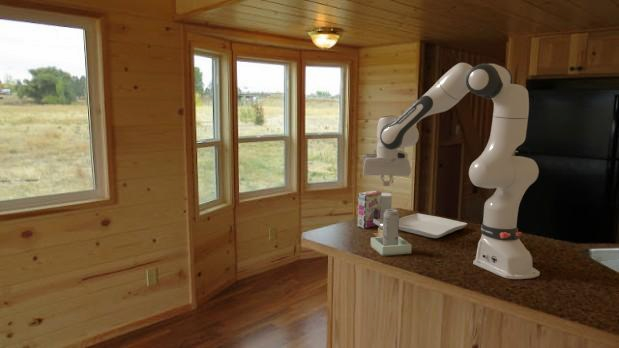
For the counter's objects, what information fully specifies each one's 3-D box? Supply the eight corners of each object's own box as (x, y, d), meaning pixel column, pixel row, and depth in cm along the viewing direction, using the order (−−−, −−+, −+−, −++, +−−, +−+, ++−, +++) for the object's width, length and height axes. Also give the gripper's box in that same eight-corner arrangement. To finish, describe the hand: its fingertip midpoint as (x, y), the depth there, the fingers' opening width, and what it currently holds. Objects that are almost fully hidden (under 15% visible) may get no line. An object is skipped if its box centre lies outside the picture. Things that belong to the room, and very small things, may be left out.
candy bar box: (364, 229, 197) (365, 194, 194) (356, 227, 200) (357, 192, 198) (380, 225, 204) (381, 191, 201) (372, 222, 207) (373, 189, 205)
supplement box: (389, 216, 219) (390, 192, 217) (391, 220, 211) (392, 195, 209) (375, 216, 219) (376, 192, 217) (376, 220, 212) (376, 195, 210)
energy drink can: (398, 249, 167) (400, 212, 165) (383, 249, 167) (384, 212, 165) (396, 244, 173) (398, 208, 170) (381, 244, 173) (382, 208, 171)
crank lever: (393, 229, 177) (394, 215, 176) (382, 230, 175) (383, 216, 174) (378, 221, 189) (379, 208, 188) (368, 222, 188) (368, 209, 187)
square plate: (468, 230, 197) (468, 222, 196) (437, 243, 178) (437, 234, 178) (417, 219, 216) (417, 211, 216) (384, 229, 198) (385, 221, 197)
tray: (411, 253, 165) (411, 244, 165) (382, 255, 162) (382, 247, 162) (397, 243, 177) (398, 235, 176) (370, 245, 174) (370, 237, 173)
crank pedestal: (394, 243, 177) (394, 230, 176) (381, 244, 176) (381, 231, 175) (381, 233, 191) (381, 221, 190) (368, 234, 189) (368, 222, 188)
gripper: (362, 154, 182) (361, 186, 183) (411, 154, 178) (410, 187, 180) (363, 152, 188) (362, 183, 190) (410, 153, 184) (409, 184, 186)
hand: (386, 185), depth 185 cm, fingers closed
